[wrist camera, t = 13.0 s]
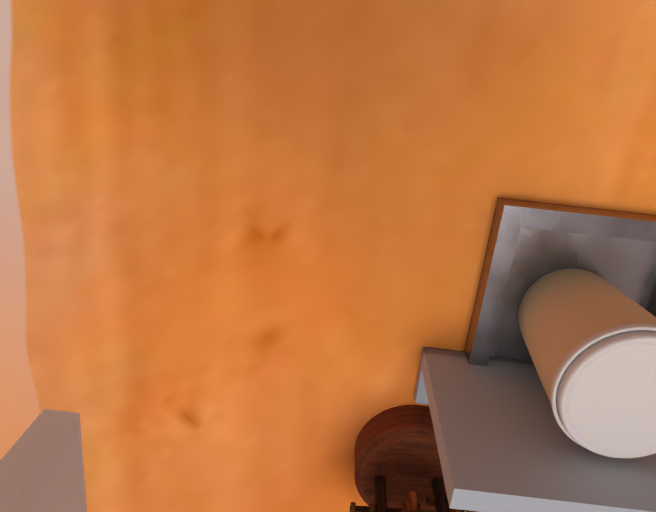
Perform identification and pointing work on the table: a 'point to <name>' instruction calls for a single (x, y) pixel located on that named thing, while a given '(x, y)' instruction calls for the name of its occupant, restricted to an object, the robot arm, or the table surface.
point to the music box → (400, 464)
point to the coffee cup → (594, 361)
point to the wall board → (518, 444)
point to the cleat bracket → (554, 265)
